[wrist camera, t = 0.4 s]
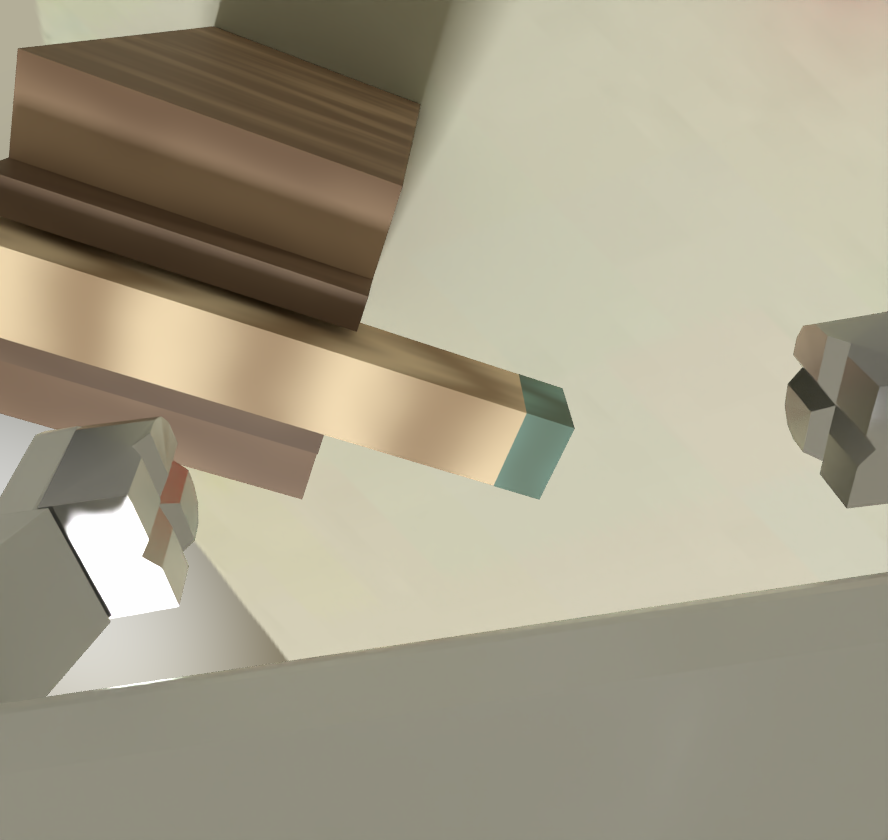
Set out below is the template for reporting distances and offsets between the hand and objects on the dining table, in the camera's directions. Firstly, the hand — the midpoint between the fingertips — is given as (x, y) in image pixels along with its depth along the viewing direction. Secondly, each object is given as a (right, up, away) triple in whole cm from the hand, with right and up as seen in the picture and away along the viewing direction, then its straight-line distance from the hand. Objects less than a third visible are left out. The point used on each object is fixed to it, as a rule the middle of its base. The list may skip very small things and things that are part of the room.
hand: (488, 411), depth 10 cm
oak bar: (-7, +3, +22) cm, 23 cm away
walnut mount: (-11, +17, +44) cm, 48 cm away
